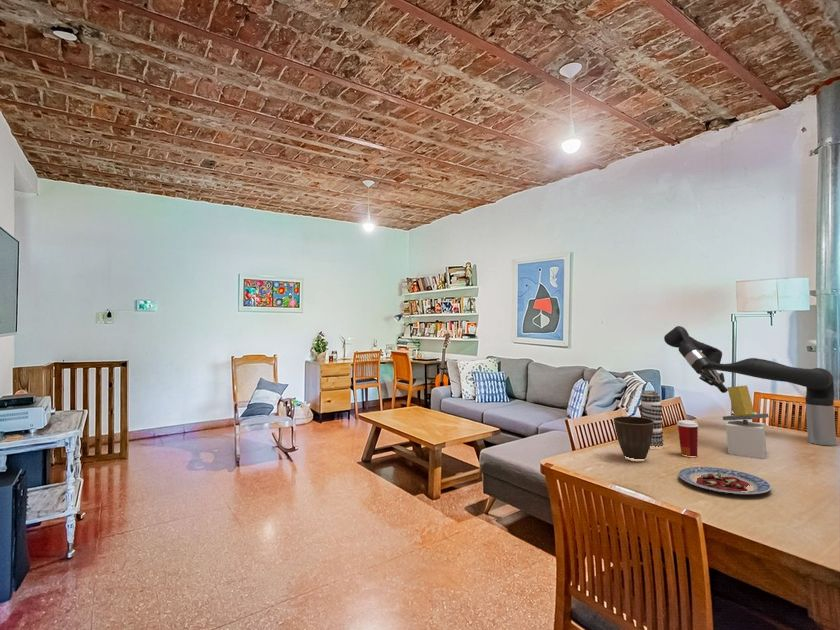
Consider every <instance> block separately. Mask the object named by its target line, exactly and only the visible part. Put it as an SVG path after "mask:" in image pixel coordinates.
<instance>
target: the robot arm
mask: <svg viewBox="0 0 840 630" xmlns="http://www.w3.org/2000/svg"><path fill="white" fill-rule="evenodd" d="M663 339H664V343H666V344H667V345H669V347H672V348H678V352H679V353H680V354H681V356H682V357H683V358H684V359H685V360H686V362H687V363H688V365H689V367H691V368H692V369H693V370H694V371H695V372H696V374H698V375H700V376H699V380H701V381H702V382H704V383H706V384H708V385H710V386H711V387H713V386H714V387H716V388H717V389H718V390H719V391H720V392H721V393H722V394H725V393H727V392H728V388H727V387H726V386H725V384H724V383H725V381H726V380H725V375H724V372H727V373H734V374H739V375H744V376H747V377H752V378H756V379H757V378H758V379H761V380H762V379H763V380H769V381H775V382H785V383H790V384H793V385H796V386H797V385H798V386H802V387H805V388H806V391H805V393H806V394H805V397H804V398H805V399H804V400H805V413H806V414H805V415H806V428H807V429H806V430H807V442H808V443H810V444H813V443H814V445H820V446H831V447H832V446H837V437H836V436H837V434H836V420H835V419H836V418H835V417H836V416H835V407H834V406H835V404H834V401H835V387H834V386H835V385H834V384H835V383H834V377H833V374H832V373H831V372H830V371H829V370H827V369H825V368H821V367H814V368H803V367H793V366H790V365H789V366H788V365H785V364H782V363H779V362H776V361H772V360H769V359H768V360H767V359H762V358H758V357H757V358H756V357H750V358H745V359H742V360H738V361H735V362H731V363H721V361H722V359H723V358H722V357H723V352H722V350H721V349H718V348H717V347H714V346H711V345H710V344H706V343H704V342H701V341H698V340H697V339H695V338H694V337H692V336H690V334H689V332H688V331H687V329H686V328H685V327H683V326H681V325H677V326H675V327H674V328H672V329H671V330H670V331H669V332H668V333H666V334H665V335H664V338H663ZM718 371H720V373H719V372H718ZM721 371H722V372H721Z"/></svg>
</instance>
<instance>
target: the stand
mask: <svg viewBox="0 0 840 630" xmlns="http://www.w3.org/2000/svg"><path fill="white" fill-rule="evenodd" d="M765 424H766V423H764V422H756V421H755V422H754V421H749V419H747V420H728V422H727V423H726V427H725V428H726V442H727V454H728V453H729V455H733V454H735V455H734V456H740V455H741V456H742V457H748V456H749V457H750V458H755V457H756V459H762V458H764V459H763V460H765V458H766V455H767V442H766V440H767V439H766V425H765Z"/></svg>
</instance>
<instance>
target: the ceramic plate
mask: <svg viewBox="0 0 840 630" xmlns="http://www.w3.org/2000/svg"><path fill="white" fill-rule="evenodd" d="M677 474H678V477H679V478H680V479H681V480H683V481H684V482H686V483H688V484H691V485H693V486H695V487H698V488H701V489H705V490H708V489H709V490H708V491H711V490H713V491H712V492H716V491H719V492H718V493H720V492H725V493H724V494H727V493H733V494H732V495H760V494H764V493H768V492H770V491H771V489H772V485H771V483H770V482H769V481H767V480H765V479H764V478H762V477H759V476H757V475H754V474H751V473H747V472H743V471H739V470H734V469H728V468H723V467H722V468H721V467H711V466H710V467H709V466H695V467H694V466H692V467H686V468H684V469H681V470H679V471H678V473H677ZM700 475H701V477H699V478H697V481H696V483H695V482H694V481H693V478H694V477H695V476H700ZM717 476H718V477H717ZM721 476H722V477H721ZM748 485H749V486H750V485H751V486H753V488H754V489H753V491H748V490H747V489H746V487H747V486H748ZM741 491H748V492H741Z"/></svg>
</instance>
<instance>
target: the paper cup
mask: <svg viewBox="0 0 840 630" xmlns="http://www.w3.org/2000/svg"><path fill="white" fill-rule="evenodd" d="M676 426H677V430H678V438H679V445H680V446H679V447H680V454H683V455H687V456H697V457H698V445H699V444H698V439H699V438H698V434H699V433H698V432H699V424H698V422H697V421H694V420H687V419H683V420H682V419H681V420H680V419H679V420H678V421H677V423H676Z"/></svg>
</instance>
